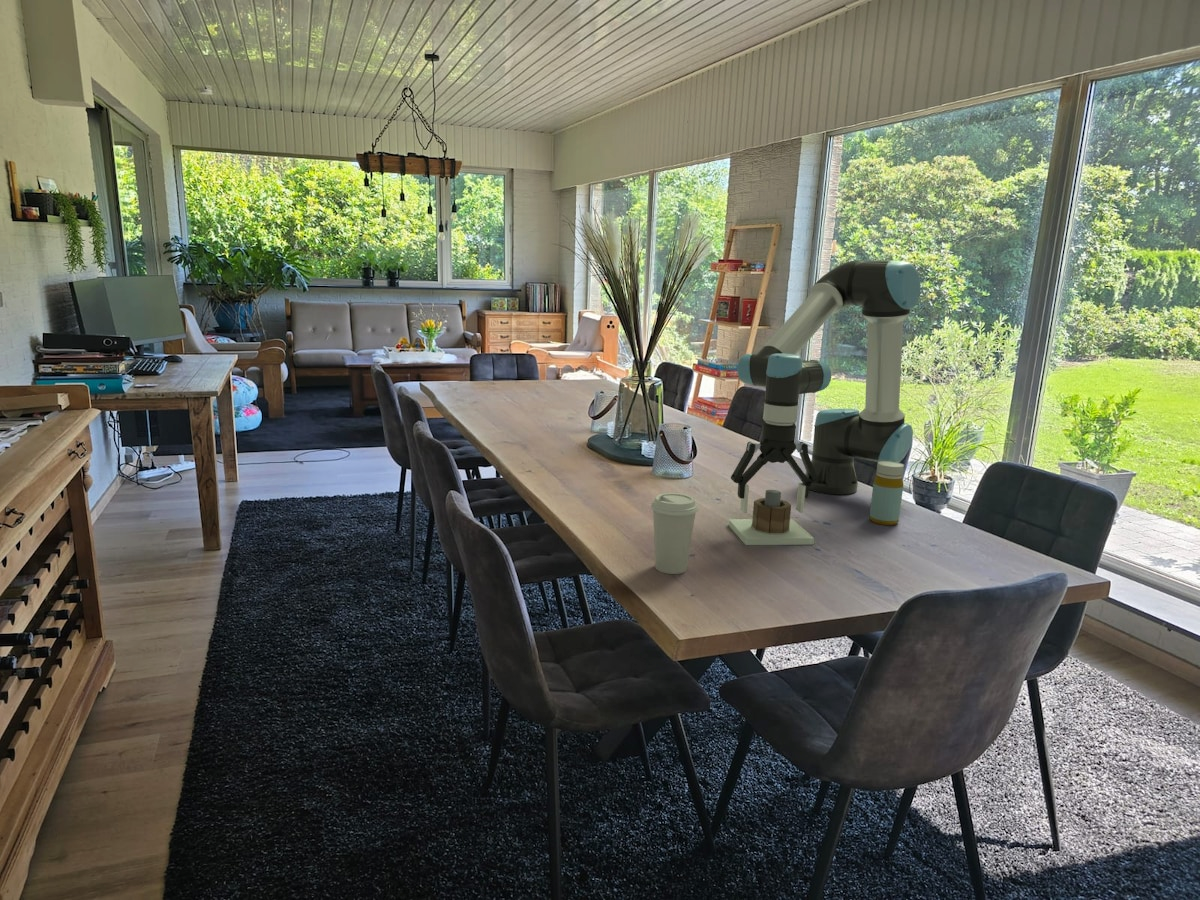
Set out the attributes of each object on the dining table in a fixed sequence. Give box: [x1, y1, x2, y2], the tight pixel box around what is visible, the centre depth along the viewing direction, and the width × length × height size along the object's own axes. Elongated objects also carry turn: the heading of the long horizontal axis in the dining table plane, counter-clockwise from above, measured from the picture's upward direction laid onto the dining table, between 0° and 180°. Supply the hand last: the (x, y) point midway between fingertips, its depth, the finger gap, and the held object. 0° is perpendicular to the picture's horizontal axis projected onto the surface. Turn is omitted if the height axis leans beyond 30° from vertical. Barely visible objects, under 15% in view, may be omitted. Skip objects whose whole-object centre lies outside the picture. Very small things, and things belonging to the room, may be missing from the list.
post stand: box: [728, 489, 815, 546], centre depth 180 cm, size 16×14×10 cm
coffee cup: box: [650, 492, 699, 575], centre depth 157 cm, size 10×10×15 cm
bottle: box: [869, 461, 905, 526], centre depth 193 cm, size 7×7×15 cm
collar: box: [751, 497, 792, 533], centre depth 180 cm, size 8×8×6 cm
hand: (771, 511), depth 180 cm, fingers open, 13 cm apart
